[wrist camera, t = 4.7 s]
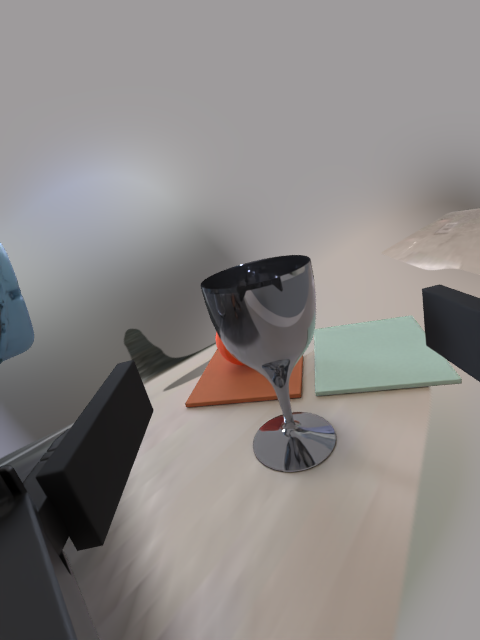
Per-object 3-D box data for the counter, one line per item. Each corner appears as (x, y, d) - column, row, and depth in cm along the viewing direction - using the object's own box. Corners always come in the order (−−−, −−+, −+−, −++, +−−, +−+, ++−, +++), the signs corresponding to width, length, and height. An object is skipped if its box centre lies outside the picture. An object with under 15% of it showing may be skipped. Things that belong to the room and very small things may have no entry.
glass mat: (315, 396, 33) (315, 392, 33) (314, 332, 47) (313, 329, 47) (461, 383, 29) (461, 378, 29) (412, 318, 44) (411, 315, 44)
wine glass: (231, 463, 27) (177, 293, 22) (270, 405, 33) (234, 263, 28) (326, 486, 23) (285, 282, 18) (350, 415, 29) (324, 249, 24)
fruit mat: (186, 407, 37) (184, 403, 37) (221, 345, 51) (220, 342, 51) (301, 397, 33) (300, 393, 33) (304, 333, 48) (303, 330, 48)
